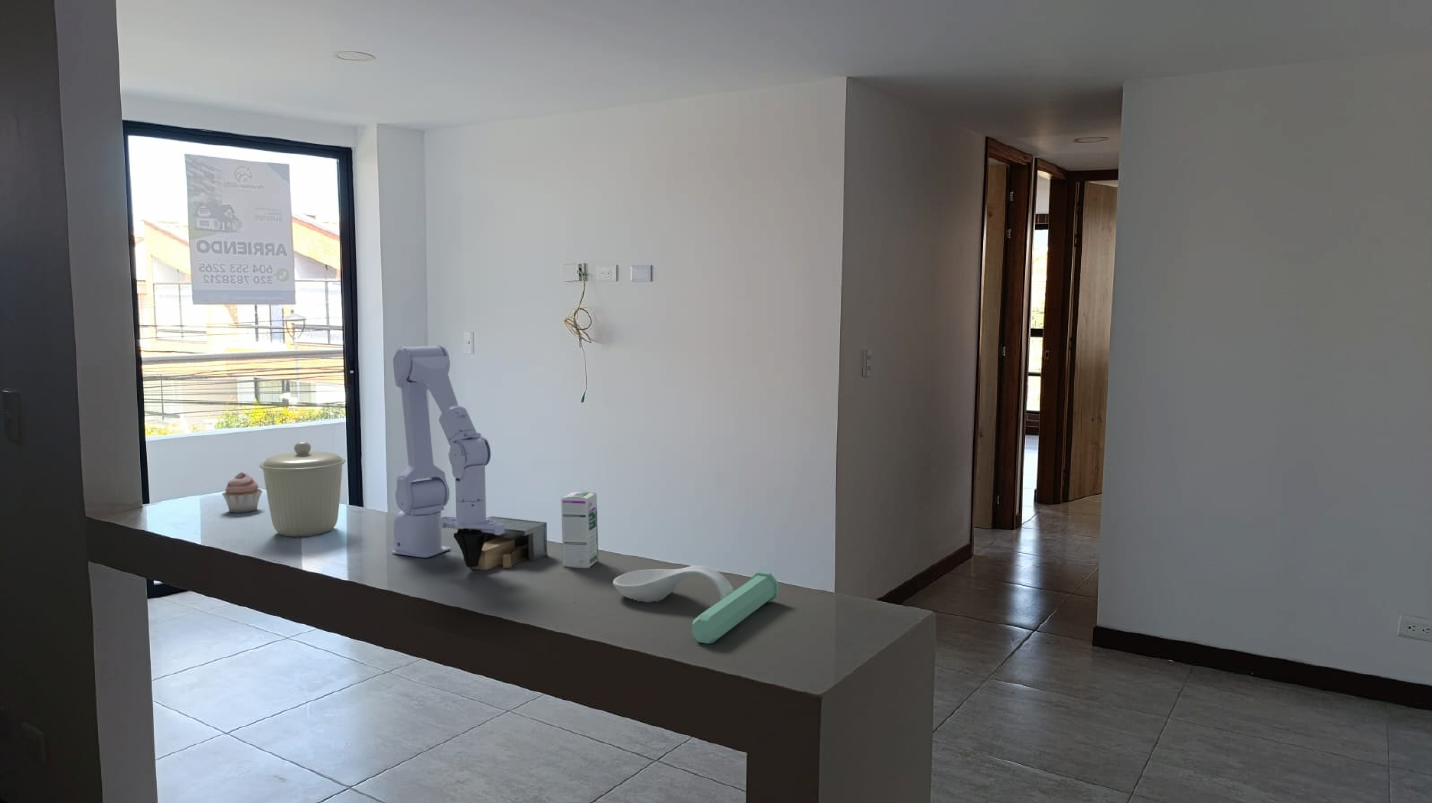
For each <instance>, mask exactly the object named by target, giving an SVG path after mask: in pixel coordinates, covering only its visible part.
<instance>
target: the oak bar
mask: <svg viewBox="0 0 1432 803" xmlns="http://www.w3.org/2000/svg"><path fill="white" fill-rule="evenodd" d="M512 549H515V539H509V538H501V537H498V538H496V539H493V540H490V541H488V542H485V543H484V545H483V548H482V551H481V554H480V558H479V563H478V566H475V567H473V568H472V569H474V570H475V569H476V570H481V571H482V570H483V571H486V570H490V569H492V568H494V567H497V566H499V565H501V563H502V564H503V555H504V553H505V552H507V551H510V550H512Z"/></svg>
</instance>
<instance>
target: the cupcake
mask: <svg viewBox="0 0 1432 803" xmlns="http://www.w3.org/2000/svg"><path fill="white" fill-rule="evenodd" d="M226 484H227V486H226V488H225V491H224V492H222V493H221V495H222V496H223V498H224V500H225V503H226V505H227V507H228V508H227V509H228V511H229V512H230V513H234V514H243V513H250V512H254V511H256V510H257V509H258V505H259V502H260V498H261V495H262V493H263V490H261V489H260V488H259V485H258V483H257V482H256V481H255V480H254V478H253V477H252V476H251V475H250V474H248V473H246V472H244V471H241V472H239V473H237V475H236V476H234V477H233V479H230V480H228V481H227V483H226Z"/></svg>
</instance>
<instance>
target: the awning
mask: <svg viewBox="0 0 1432 803" xmlns="http://www.w3.org/2000/svg"><path fill="white" fill-rule="evenodd" d="M486 519H488V520H491V521H495V522H499V523H504V524H505V533H503V534H500V535H495V534H494V533H489V535H488V537H487V539H486V541H485V542H488V541H490V540H493V539H496V538H498V537H501V538H509V539H515V549H512V550H510V551H507V552H505V553H504V555H503V563H502V569H512V567H513V565H514V564H517V563H519V562H521V561H524V560H526V559H528V561H532V562H534V561H537V560H539V559H542V558H543V557H545V556H547V555H548V525H547V524H548V523H547V521H546V522H544V521H539V520H538V521H536V520H527V519H519V518H510V517H504V516H503V517H501V516H500V517H499V516H487V517H486ZM462 557H463V562H464V563H465V559H464V556H463V555H462Z"/></svg>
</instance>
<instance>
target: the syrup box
mask: <svg viewBox="0 0 1432 803" xmlns="http://www.w3.org/2000/svg"><path fill="white" fill-rule="evenodd" d="M597 499H598V496H597V493H596V492H591V491H575V492H574V491H571V492H570V493H569V494H567V495H565V496H563V497H561V498H560V502H561V503H560V504H561V536H562V537H561V538H562V566H563V567H566V568H574V569H575V568H576V569H577V568H578V569H590V567H591V566H593V565H594V564H595V563H596V562H598V561H599V542H598V539H599V536H598V529H599V528H598V500H597Z"/></svg>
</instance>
